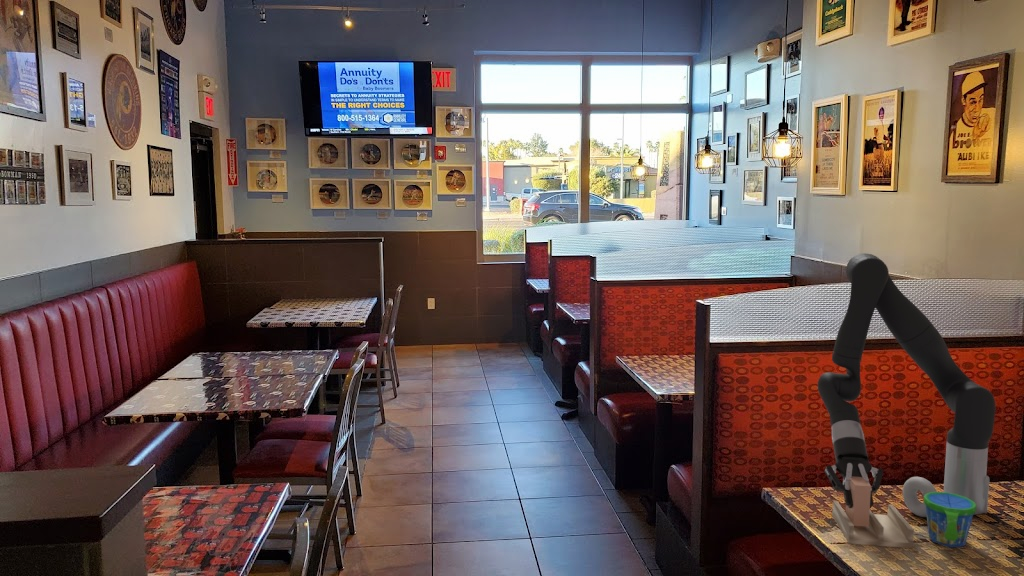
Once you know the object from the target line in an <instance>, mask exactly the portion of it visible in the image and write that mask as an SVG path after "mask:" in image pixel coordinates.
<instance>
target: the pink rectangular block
mask: <svg viewBox="0 0 1024 576" xmlns="http://www.w3.org/2000/svg"><path fill="white" fill-rule="evenodd" d="M869 483H870V482H869ZM869 483H868V482H867V481H866V479H864V478H862V477H853V476H851V478H850V491H851V494H852V500H853V507H852V508H849V507H848V506H846V505H845V510H844V512H845V513H846V515H847V516H848V518H849V519H850V521H851V522H852V523H853V525H854V526H867V527H869V514H870V510H871V508H870V495H871V486H872V485H871V484H869Z"/></svg>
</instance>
